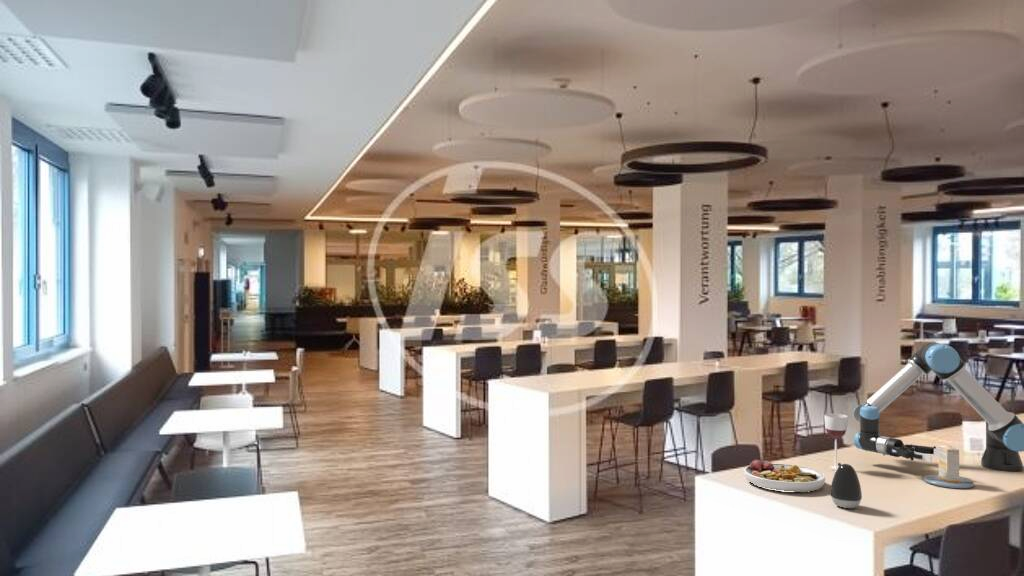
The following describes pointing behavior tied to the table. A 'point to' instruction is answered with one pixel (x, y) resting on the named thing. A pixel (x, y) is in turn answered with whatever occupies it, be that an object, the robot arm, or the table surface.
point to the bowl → (784, 476)
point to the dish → (940, 482)
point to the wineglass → (836, 428)
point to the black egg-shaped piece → (846, 487)
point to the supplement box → (948, 463)
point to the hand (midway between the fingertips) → (940, 456)
